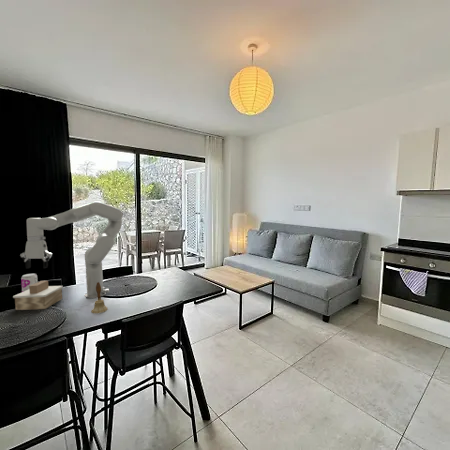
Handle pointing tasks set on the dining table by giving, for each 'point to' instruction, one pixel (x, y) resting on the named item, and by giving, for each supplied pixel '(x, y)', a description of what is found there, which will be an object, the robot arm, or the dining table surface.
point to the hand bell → (99, 302)
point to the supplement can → (28, 281)
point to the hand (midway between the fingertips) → (37, 268)
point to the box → (38, 301)
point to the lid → (38, 290)
